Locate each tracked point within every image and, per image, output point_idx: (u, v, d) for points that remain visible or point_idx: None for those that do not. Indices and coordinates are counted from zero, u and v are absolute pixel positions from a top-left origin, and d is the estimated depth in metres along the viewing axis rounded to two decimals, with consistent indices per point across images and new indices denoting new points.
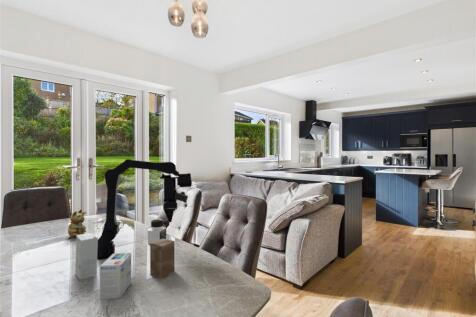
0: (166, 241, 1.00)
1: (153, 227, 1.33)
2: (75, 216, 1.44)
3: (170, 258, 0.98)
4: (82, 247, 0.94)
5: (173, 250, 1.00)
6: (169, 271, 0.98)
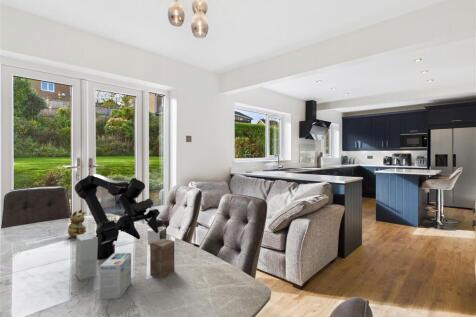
0: (166, 241, 1.00)
1: None
2: (75, 216, 1.44)
3: (170, 258, 0.98)
4: (82, 247, 0.94)
5: (173, 250, 1.00)
6: (169, 271, 0.98)
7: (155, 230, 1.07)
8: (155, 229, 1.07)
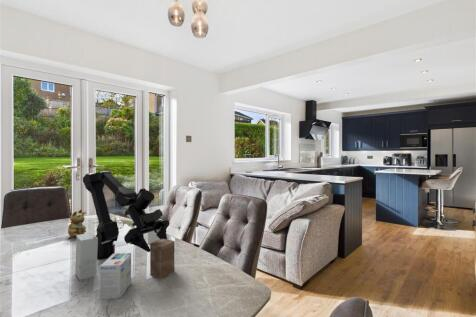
0: (166, 241, 1.00)
1: None
2: (75, 216, 1.44)
3: (170, 258, 0.98)
4: (82, 247, 0.94)
5: (173, 250, 1.00)
6: (169, 271, 0.98)
7: None
8: None
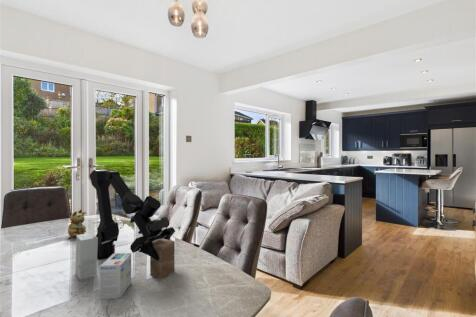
0: (166, 241, 1.00)
1: None
2: (75, 216, 1.44)
3: (170, 258, 0.98)
4: (82, 247, 0.94)
5: (173, 250, 1.00)
6: (169, 271, 0.98)
7: None
8: None
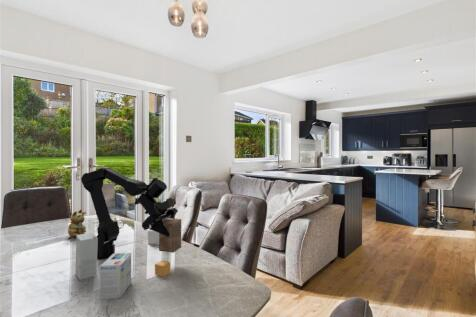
0: (173, 219, 1.07)
1: None
2: (75, 216, 1.44)
3: (178, 234, 1.06)
4: (82, 247, 0.94)
5: (180, 227, 1.08)
6: (177, 246, 1.06)
7: None
8: None
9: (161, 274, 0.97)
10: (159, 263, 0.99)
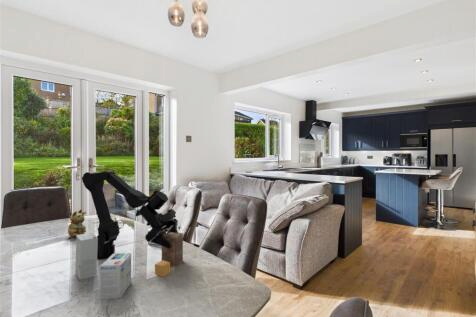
0: (175, 233, 1.10)
1: None
2: (75, 216, 1.44)
3: (180, 248, 1.09)
4: (82, 247, 0.94)
5: (182, 241, 1.11)
6: (179, 260, 1.09)
7: None
8: None
9: (161, 274, 0.97)
10: (159, 263, 0.99)
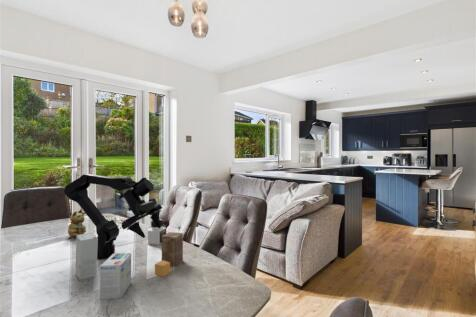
0: (175, 233, 1.10)
1: (153, 227, 1.33)
2: (75, 216, 1.44)
3: (180, 248, 1.09)
4: (82, 247, 0.94)
5: (182, 241, 1.11)
6: (179, 260, 1.09)
7: (158, 225, 1.16)
8: (158, 225, 1.16)
9: (161, 274, 0.97)
10: (159, 263, 0.99)
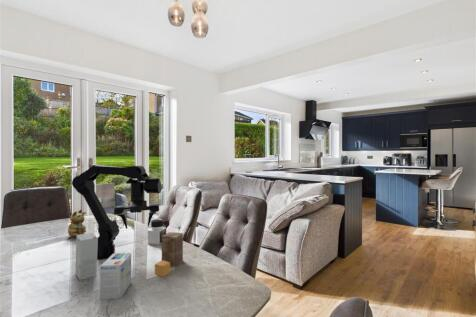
0: (175, 233, 1.10)
1: (153, 227, 1.33)
2: (75, 216, 1.44)
3: (180, 248, 1.09)
4: (82, 247, 0.94)
5: (182, 241, 1.11)
6: (179, 260, 1.09)
7: None
8: None
9: (161, 274, 0.97)
10: (159, 263, 0.99)
